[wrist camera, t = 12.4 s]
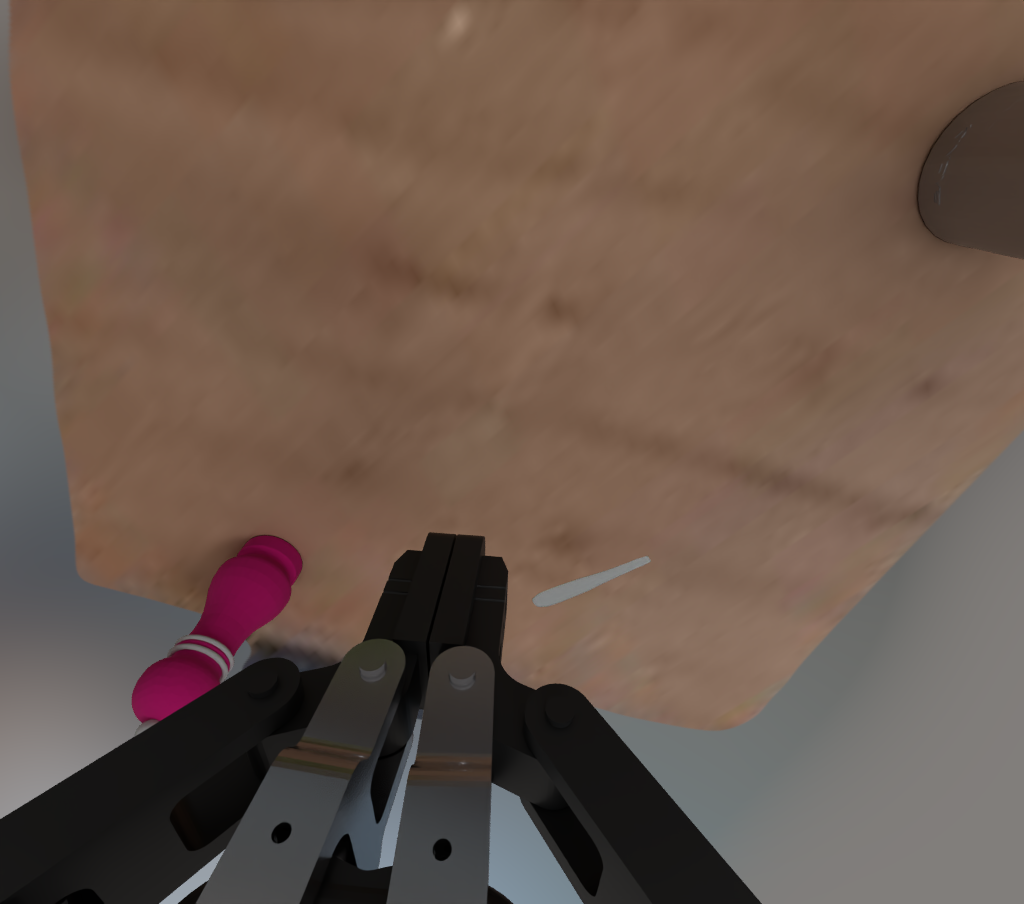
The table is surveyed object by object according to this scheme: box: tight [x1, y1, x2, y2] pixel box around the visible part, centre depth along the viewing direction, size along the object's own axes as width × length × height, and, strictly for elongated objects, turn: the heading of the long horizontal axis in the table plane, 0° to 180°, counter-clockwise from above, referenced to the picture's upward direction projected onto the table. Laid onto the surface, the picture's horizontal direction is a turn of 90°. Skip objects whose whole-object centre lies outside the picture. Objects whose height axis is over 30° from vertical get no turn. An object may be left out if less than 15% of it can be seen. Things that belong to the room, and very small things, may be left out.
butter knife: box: [532, 556, 651, 607], centre depth 50 cm, size 1×27×3 cm
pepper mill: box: [132, 535, 302, 736], centre depth 45 cm, size 7×7×20 cm
